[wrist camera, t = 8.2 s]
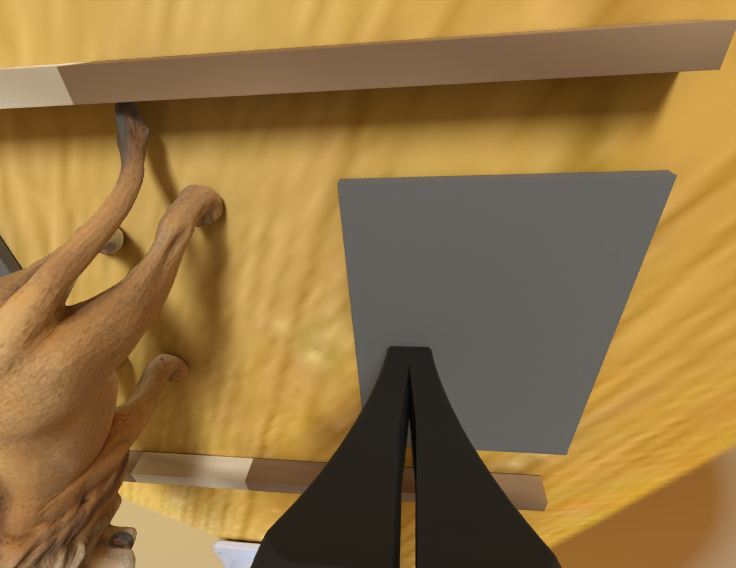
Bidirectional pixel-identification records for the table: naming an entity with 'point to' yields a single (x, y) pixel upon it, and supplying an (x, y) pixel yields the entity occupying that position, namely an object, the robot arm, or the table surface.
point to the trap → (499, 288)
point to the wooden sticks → (348, 72)
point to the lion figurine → (84, 376)
